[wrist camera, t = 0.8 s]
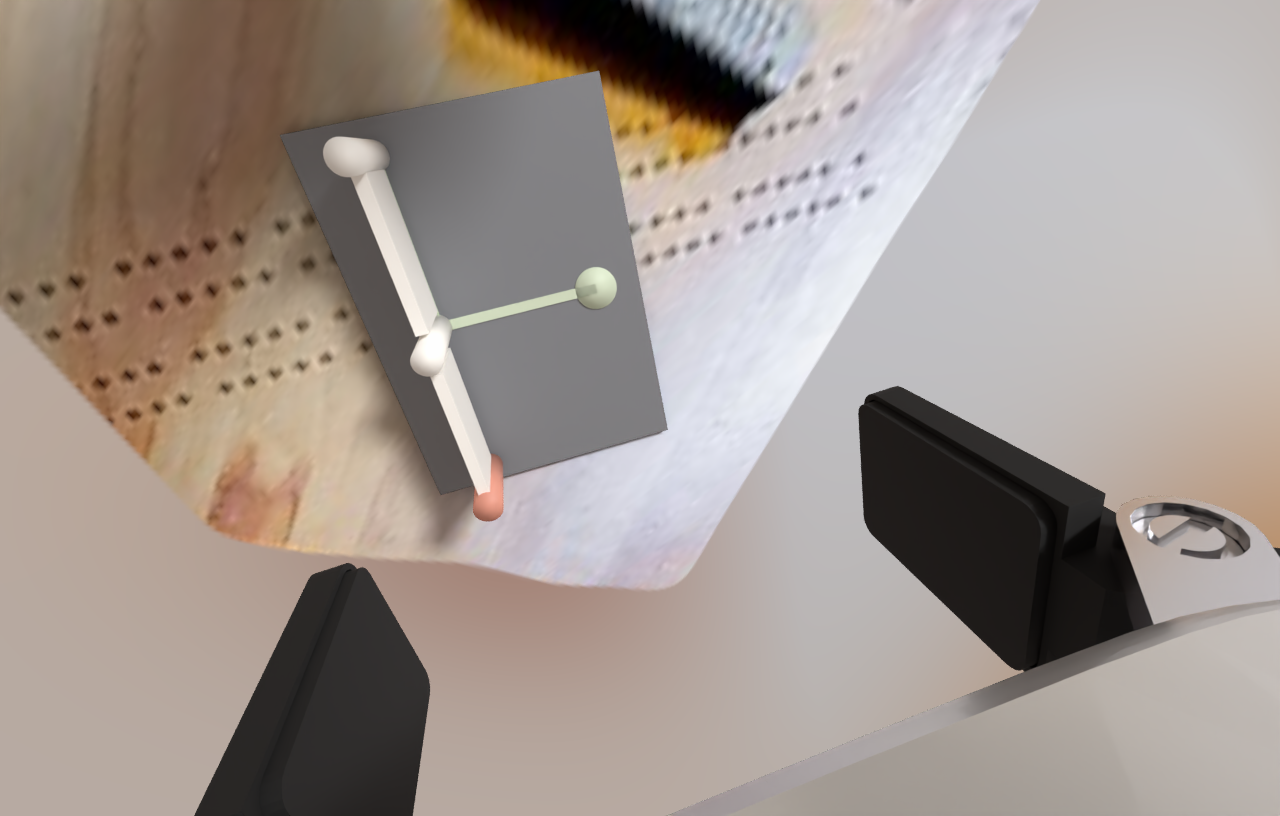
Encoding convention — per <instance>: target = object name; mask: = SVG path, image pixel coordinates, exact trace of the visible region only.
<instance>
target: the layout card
mask: <svg viewBox="0 0 1280 816" xmlns="http://www.w3.org/2000/svg"><path fill="white" fill-rule="evenodd" d="M280 137H281V139H282V141H283V144H284V146H285V148H286V150H287V153H288V155H289V157H290V159H291V162H292V164H293V166H294V168H295V171H296V173H297V175H298V177H299V179H300V182H301V184H302V186H303V188H304V191H305V193H306V195H307V197H308V200H309V202H310V204H311V206H312V209H313V211H314V213H315V215H316V217H317V220H318V222H319V224H320V226H321V229H322V231H323V233H324V235H325V238H326V240H327V242H328V244H329V246H330V249H331V251H332V253H333V255H334V258H335V260H336V262H337V264H338V267H339V269H340V271H341V273H342V276H343V278H344V280H345V282H346V284H347V287H348V289H349V291H350V293H351V296H352V298H353V300H354V302H355V305H356V307H357V309H358V311H359V314H360V316H361V318H362V320H363V322H364V325H365V327H366V329H367V331H368V334H369V336H370V338H371V340H372V343H373V345H374V347H375V349H376V352H377V354H378V356H379V358H380V360H381V363H382V365H383V367H384V369H385V372H386V374H387V376H388V378H389V381H390V383H391V385H392V387H393V389H394V392H395V394H396V396H397V398H398V401H399V403H400V405H401V407H402V410H403V412H404V414H405V416H406V419H407V421H408V423H409V425H410V427H411V430H412V432H413V434H414V436H415V439H416V441H417V443H418V445H419V448H420V450H421V452H422V454H423V457H424V459H425V461H426V463H427V465H428V468H429V470H430V472H431V474H432V477H433V479H434V481H435V483H436V486H437V488H438V490H439V492H440V494H441V495H442V494H446V493H449V492H453V491H456V490H460V489H463V488H467V487H470V486H474V483H473V481H472V478H471V476H470V473H469V471H468V469H467V466H466V464H465V461H464V459H463V456H462V454H461V451H460V449H459V446H458V444H457V442H456V439H455V437H454V434H453V432H452V429H451V427H450V424H449V422H448V419H447V417H446V415H445V412H444V410H443V407H442V405H441V402H440V400H439V397H438V395H437V392H436V390H435V388H434V385H433V383H432V380H431V378H430V376H429V377H427V376H422V375H419V374H418V373H416V372H415V371H414V370H413V369H412V367H411V364H410V358H411V355H412V353H413V350H414V348H415V346H416V344H417V341H418V339H419V337H420V336H417V337H415V334H414V332H413V329H412V327H411V324H410V322H409V319H408V317H407V314H406V312H405V309H404V307H403V304H402V302H401V300H400V297H399V295H398V292H397V290H396V287H395V285H394V282H393V280H392V277H391V275H390V272H389V270H388V268H387V265H386V263H385V260H384V258H383V255H382V253H381V250H380V248H379V245H378V243H377V240H376V238H375V235H374V233H373V231H372V228H371V226H370V223H369V221H368V218H367V216H366V213H365V211H364V208H363V206H362V203H361V201H360V199H359V196H358V194H357V191H356V189H355V186H354V184H353V181H352V179H351V177H342V176H339V175H337V174H336V173H334V172H333V171H332V170H331V169H330V168H329V167H328V166H327V164H326V162H325V160H324V157H323V149H324V146H325V144H326V142H327V141H328V140H330V139H331V138H333V137H351V138H361V139H372V140H376V141H378V142H380V143H382V144H383V145H384V146H385V147H386V149H387V150H388V153H389V156H390V162H389V165H388V167H387V168H386V169H385V173H386V176H387V178H388V181H389V184H390V186H391V189H392V192H393V194H394V197H395V200H396V202H397V205H398V207H399V210H400V213H401V215H402V218H403V221H404V223H405V226H406V229H407V231H408V234H409V237H410V239H411V242H412V245H413V247H414V250H415V253H416V255H417V258H418V261H419V263H420V266H421V269H422V271H423V274H424V276H425V279H426V282H427V284H428V287H429V290H430V292H431V295H432V298H433V300H434V303H435V306H436V308H437V311H438V312H437V315H442V316H445V317H446V318H448V319H449V321H450V322H451V324H452V334H451V338H450V341H449V345H448V348H450V349H451V351H452V354H453V356H454V359H455V362H456V364H457V367H458V370H459V372H460V375H461V378H462V380H463V383H464V386H465V388H466V391H467V394H468V396H469V399H470V401H471V404H472V407H473V409H474V412H475V415H476V417H477V420H478V423H479V425H480V428H481V431H482V433H483V436H484V438H485V441H486V444H487V446H488V449H489V452H490V454H495V455H498V456H499V457H500V458H501V459H502V461H503V477H505V476H508V475H512V474H515V473H519V472H522V471H526V470H529V469H533V468H536V467H540V466H543V465H547V464H550V463H554V462H557V461H561V460H564V459H568V458H571V457H575V456H578V455H581V454H585V453H588V452H592V451H595V450H599V449H602V448H606V447H609V446H613V445H616V444H620V443H623V442H627V441H630V440H634V439H637V438H641V437H644V436H648V435H651V434H655V433H658V432H662V431H665V430H668V429H667V423H666V418H665V413H664V408H663V402H662V397H661V392H660V387H659V382H658V376H657V371H656V366H655V361H654V355H653V350H652V345H651V340H650V335H649V329H648V324H647V319H646V314H645V308H644V303H643V298H642V293H641V288H640V282H639V277H638V272H637V267H636V262H635V256H634V251H633V246H632V241H631V235H630V230H629V225H628V220H627V215H626V209H625V204H624V199H623V194H622V188H621V183H620V178H619V173H618V168H617V162H616V157H615V152H614V147H613V141H612V136H611V131H610V126H609V121H608V115H607V110H606V105H605V100H604V94H603V89H602V84H601V79H600V74H599V71H596V72H591V73H586V74H581V75H576V76H571V77H566V78H561V79H556V80H551V81H546V82H541V83H536V84H531V85H527V86H522V87H517V88H512V89H507V90H502V91H497V92H492V93H487V94H482V95H477V96H472V97H467V98H462V99H457V100H452V101H447V102H442V103H437V104H432V105H427V106H422V107H417V108H412V109H407V110H402V111H397V112H392V113H387V114H382V115H377V116H372V117H367V118H362V119H357V120H352V121H347V122H342V123H337V124H333V125H328V126H323V127H318V128H313V129H308V130H303V131H298V132H293V133H288V134H283V135H280Z"/></svg>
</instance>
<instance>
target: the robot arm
mask: <svg viewBox="0 0 1280 816" xmlns="http://www.w3.org/2000/svg"><path fill="white" fill-rule="evenodd" d="M858 415H859V433H860V453H861V472H862V491H863V508H864V520H865V523H866V525H867V528H868V529H869V531H870V533H871V534H872V535H873V536H874V537H875V538H876V539H877V540H878V541H879V542H880V543H881V544H882V545H883V546H884V547H885V548H886V549H887V550H888V551H889V552H891V553H892V554H893V555H894V556H895V557H896V558H897V559H898V560H899V561H900V562H901V563H902V564H903V565H904V566H905V567H906V568H907V569H908V570H909V571H910V572H911V573H912V574H914V576H916V577H917V578H918V579H919V580H920V581H921V582H922V583H923V584H924V585H925V586H926V587H927V588H928V589H929V590H930V591H931V592H932V593H933V594H934V595H935V596H936V597H938V599H939V600H941V601H942V602H943V603H944V604H945V605H946V606H947V607H948V608H949V609H950V610H951V611H952V612H953V613H954V614H955V615H956V616H957V617H958V618H959V619H960V620H961V621H962V622H963V623H964V624H965V625H967V626H968V627H969V628H970V629H971V630H972V631H973V632H974V633H975V634H976V635H977V636H978V637H979V638H980V639H981V640H982V641H983V642H984V643H985V644H986V645H987V646H988V647H989V648H990V649H991V650H992V651H994V652H995V653H996V654H997V655H998V656H999V657H1000V658H1001V659H1002V660H1003V661H1004V662H1005V663H1006V664H1007V665H1009V666H1010V667H1011V668H1013V669H1015V670H1023V671H1025V672H1023V673H1021V674H1018V675H1016V676H1013V677H1010V678H1008V679H1005V680H1003V681H1000V682H998V683H995V684H993V685H990V686H988V687H985V688H983V689H980V690H978V691H975V692H973V693H970V694H968V695H965V696H963V697H960V698H958V699H955V700H953V701H950V702H947V703H945V704H943V705H940V706H937V707H935V708H932V709H930V710H927V711H925V712H922V713H920V714H918V715H915V716H912V717H910V718H907V719H905V720H902V721H900V722H897V723H895V724H892V725H890V726H887V727H885V728H882V729H880V730H877V731H875V732H872V733H870V734H867V735H865V736H862V737H860V738H857V739H855V740H852V741H850V742H847V743H845V744H842V745H840V746H837V747H835V748H832V749H830V750H827V751H825V752H822V753H820V754H818V755H815V756H812V757H810V758H808V759H805V760H803V761H800V762H798V763H795V764H793V765H790V766H788V767H785V768H783V769H781V770H778V771H775V772H773V773H771V774H768V775H765V776H763V777H761V778H758V779H756V780H753V781H751V782H748V783H746V784H743V785H741V786H738V787H736V788H733V789H731V790H728V791H726V792H724V793H721V794H719V795H716V796H714V797H711V798H709V799H706V800H704V801H701V802H699V803H696V804H694V805H692V806H689V807H687V808H684V809H682V810H679V811H677V812H675V813H672V814H670V815H667V816H1280V548H1273V547H1272V545H1271V544H1270V542H1269V541H1268V539H1267V538H1266V536H1265V535H1263V533H1262V532H1261V531H1260V530H1259V529H1258V528H1257V527H1256V526H1255V525H1254V524H1252V523H1250V522H1249V521H1247V520H1246V519H1244V518H1242V517H1240V516H1239V515H1237V514H1235V513H1233V512H1231V511H1228V510H1226V509H1223V508H1221V507H1218V506H1216V505H1212V504H1209V503H1204V502H1201V501H1197V500H1193V499H1187V498H1180V497H1173V496H1148V497H1143V498H1137V499H1133V500H1131V501H1129V502H1127V503H1124V504H1122V505H1121V507H1120V508H1119V510H1118V511H1117V512H1116V513H1115V512H1113V511H1111V510H1110V509H1108V508H1106V507H1104V506H1103V505H1104V499H1105V493H1103V492H1102V491H1100V490H1098V489H1096V488H1094V487H1092V486H1090V485H1088V484H1086V483H1084V482H1082V481H1080V480H1079V479H1077V478H1075V477H1072V476H1071V475H1069V474H1067V473H1065V472H1063V471H1061V470H1059V469H1057V468H1055V467H1054V466H1052V465H1050V464H1048V463H1046V462H1044V461H1042V460H1040V459H1038V458H1036V457H1034V456H1033V455H1031V454H1028V453H1027V452H1025V451H1023V450H1021V449H1019V448H1017V447H1015V446H1013V445H1011V444H1009V443H1008V442H1006V441H1004V440H1002V439H1000V438H998V437H996V436H994V435H992V434H990V433H988V432H986V431H984V430H983V429H980V428H979V427H976V426H975V425H973V424H971V423H969V422H967V421H965V420H963V419H961V418H960V417H958V416H956V415H954V414H952V413H950V412H948V411H946V410H944V409H942V408H940V407H938V406H937V405H935V404H933V403H931V402H929V401H927V400H925V399H923V398H921V397H919V396H917V395H915V394H913V393H912V392H910V391H908V390H906V389H904V388H902V387H899V386H896V387H892V388H889V389H886V390H883V391H879V392H876V393H873V394H870V395H868V396H867V397H866V399H865V403H864V405H861V406H860V408H859V413H858ZM429 696H430V684H429V678H428V675H427V672H426V670H425V668H424V667H423V665H422V663H421V661H420V660H419V658H418V656H417V655H416V653H415V651H414V649H413V647H412V646H411V644H410V642H409V641H408V639H407V637H406V635H405V634H404V632H403V630H402V629H401V627H400V625H399V623H398V622H397V620H396V618H395V616H394V615H393V613H392V611H391V609H390V608H389V606H388V604H387V602H386V601H385V599H384V597H383V595H382V594H381V592H380V590H379V589H378V587H377V585H376V583H375V582H374V580H373V578H372V576H371V575H370V573H369V572H368V570H367V569H365V568H358V569H356V567H355V566H354V565H352V564H350V563H346V564H343V565H340V566H337V567H334V568H331V569H328V570H324V571H321V572H318V573H315V574H313V575H312V576H311V577H310V578H309V580H308V582H307V584H306V586H305V588H304V590H303V592H302V594H301V596H300V598H299V600H298V603H297V605H296V607H295V609H294V611H293V613H292V615H291V617H290V619H289V621H288V623H287V625H286V627H285V629H284V631H283V633H282V636H281V637H280V640H279V642H278V644H277V646H276V648H275V650H274V652H273V654H272V656H271V658H270V660H269V663H268V664H267V666H266V669H265V671H264V673H263V675H262V677H261V679H260V681H259V683H258V685H257V687H256V690H255V691H254V693H253V696H252V697H251V700H250V702H249V704H248V706H247V708H246V710H245V712H244V714H243V716H242V718H241V720H240V722H239V725H238V727H237V729H236V730H235V733H234V735H233V737H232V739H231V741H230V743H229V745H228V747H227V749H226V751H225V753H224V755H223V757H222V760H221V761H220V764H219V766H218V768H217V770H216V772H215V774H214V776H213V778H212V780H211V783H210V784H209V786H208V788H207V790H206V792H205V795H204V797H203V799H202V801H201V803H200V805H199V807H198V809H197V811H196V813H195V815H194V816H413V809H414V802H415V795H416V788H417V781H418V773H419V767H420V759H421V752H422V746H423V738H424V731H425V724H426V717H427V709H428V703H429Z"/></svg>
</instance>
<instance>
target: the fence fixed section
mask: <svg viewBox="0 0 1280 816" xmlns="http://www.w3.org/2000/svg"><path fill="white" fill-rule="evenodd" d="M323 157H324V160H325V162H326V164H327V166H328V167H329V168H330V169H331V170H332V171H333V172H334V173H336V174H337V175H339V176H342V177H351V179H352V181H353V184H354V186H355V189H356V191H357V194H358V196H359V199H360V201H361V203H362V206H363V208H364V211H365V213H366V216H367V218H368V221H369V223H370V226H371V228H372V231H373V233H374V235H375V238H376V240H377V243H378V245H379V248H380V250H381V253H382V255H383V258H384V260H385V263H386V265H387V268H388V270H389V272H390V275H391V277H392V280H393V282H394V285H395V287H396V290H397V292H398V295H399V297H400V300H401V302H402V304H403V307H404V309H405V312H406V314H407V317H408V319H409V322H410V324H411V327H412V329H413V332H414V334H415V337H417V336H420V337H419V339H418V341H417V344H416V346H415V348H414V350H413V353H412V355H411V358H410V364H411V367H412V369H413V370H414V371H415V372H416V373H418V374H419V375H422V376H427V377H429V376H434V375H436V374H438V373H439V372H440V371H441V369H442V367H443V364H444V360H445V356H446V352H447V349H448V345H449V341H450V338H451V334H452V324H451V322H450V321H449V319H448V318H446V317H445V316H442V315H437V312H438V311H437V308H436V306H435V303H434V300H433V298H432V295H431V292H430V290H429V287H428V284H427V282H426V279H425V276H424V274H423V271H422V269H421V266H420V263H419V261H418V258H417V255H416V253H415V250H414V247H413V245H412V242H411V239H410V237H409V234H408V231H407V229H406V226H405V223H404V221H403V218H402V215H401V213H400V210H399V207H398V205H397V202H396V200H395V197H394V194H393V192H392V189H391V186H390V184H389V181H388V178H387V176H386V173H385V169H386V168H387V167H388V165H389V162H390V156H389V153H388V150H387V149H386V147H385V146H384V145H383V144H382V143H380V142H378V141H376V140H372V139H361V138H351V137H333V138H331V139H330V140H328V141H327V142H326V144H325V146H324V149H323Z"/></svg>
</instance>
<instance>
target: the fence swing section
mask: <svg viewBox="0 0 1280 816" xmlns="http://www.w3.org/2000/svg"><path fill="white" fill-rule="evenodd" d="M430 378H431V380H432V383H433V385H434V388H435V390H436V392H437V395H438V397H439V400H440V402H441V405H442V407H443V410H444V412H445V415H446V417H447V419H448V422H449V424H450V427H451V429H452V432H453V434H454V437H455V439H456V442H457V444H458V446H459V449H460V451H461V454H462V456H463V459H464V461H465V464H466V466H467V469H468V471H469V473H470V476H471V478H472V481H473V483H474V486H475V491H474V503H473V513H474V515H475V516H476V517H477V518H478V519H479V520H482V521H493V520H496V519H497V518H499V517H500V516H501V515H502V513H503V461H502V459H501V458H500V457H499V456H498V455H495V454H490V452H489V449H488V446H487V444H486V441H485V438H484V436H483V433H482V431H481V428H480V425H479V423H478V420H477V417H476V415H475V412H474V409H473V407H472V404H471V401H470V399H469V396H468V394H467V391H466V388H465V386H464V383H463V380H462V378H461V375H460V372H459V370H458V367H457V364H456V362H455V359H454V356H453V354H452V351H451V349H450V348H448V349H447V352H446V356H445V360H444V364H443V367H442V369H441V371H440V372H439V373H438V374H436V375H434V376H430Z"/></svg>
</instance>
